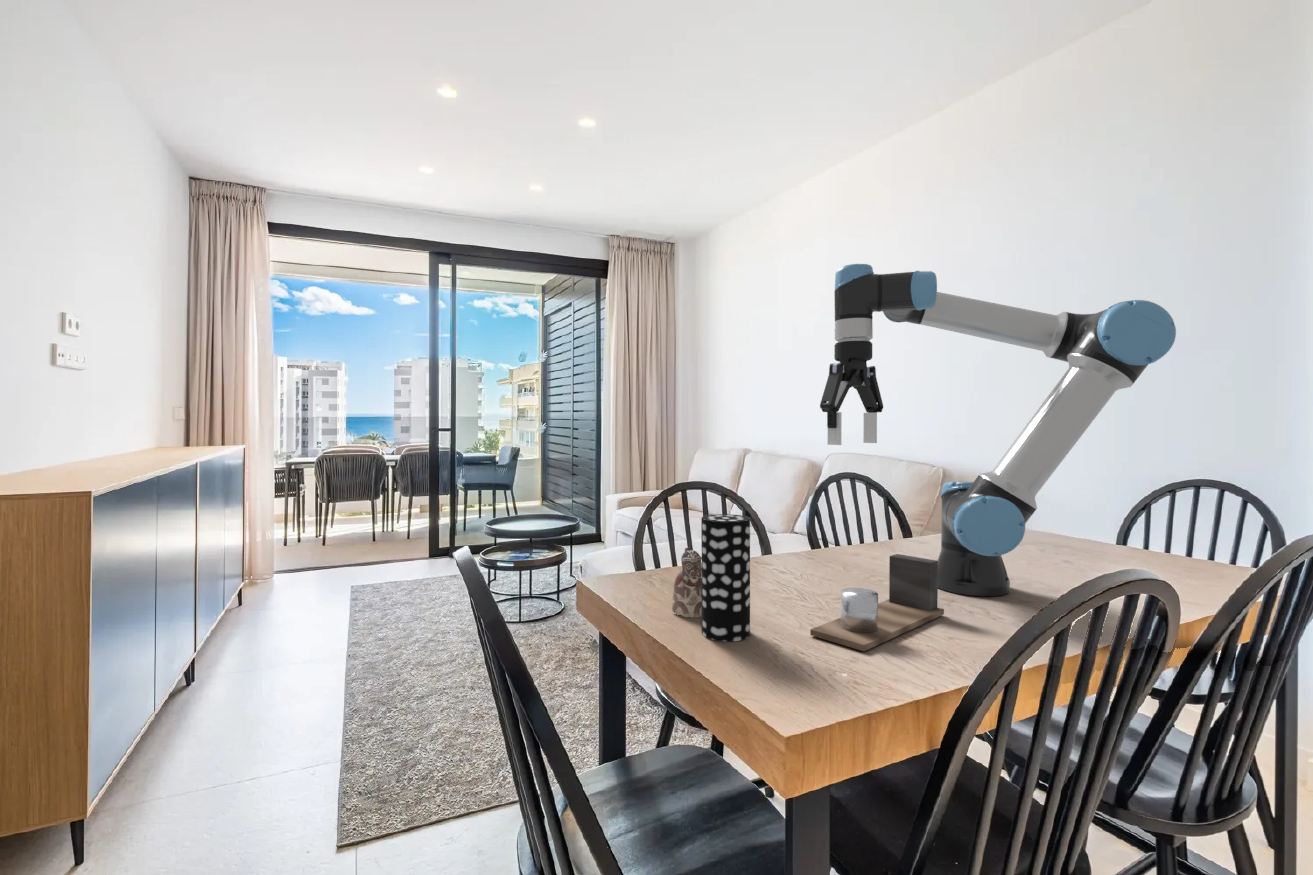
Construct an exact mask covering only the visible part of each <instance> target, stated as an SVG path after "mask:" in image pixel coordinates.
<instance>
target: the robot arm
mask: <svg viewBox="0 0 1313 875" xmlns="http://www.w3.org/2000/svg"><path fill="white" fill-rule="evenodd" d="M834 279H835V280H834V340H835V341H836V343H835V344H834V352H833V353H834V355H833V356H834V360H835V363H834V362H833V363H830V364H829V367H828V368H829V370H828V371H829V372H828V376H827V380H826V382H825V387H824V391H823V393H822V397H821V400H820V404H819V407H820V409H821V411H822V412H823V413H827V414H826V417H827V418H826V419H827V420H826V422H827V424H826V428H827V445H830V446H841V445H842V412H841V411H840V408H841V406H842V404H843V402H844V400H845V398H846V396H847V395H848V393H849V390H850V388H853V389H855V390H856V391H857V394H858V396H859V398H860V400H861V402H862V405H863V407H864V409H865V412H863V438H862V439H863V443H865V444H877V442H878V440H877V439H878V413H882V412H883V409H884V403H883V399H882V396H881V391H880V386H879V382H878V379H877V374H876V373H877V370H876V366H875V365H870V366H869V365H867V361H871V360H872V359H873V342H872V341H871V340H872V339H873V335H874V334H873V333H874V332H873V331H874V330H873V317H874V316H873V312H875V313H876V312H877V313H879V312H882V313H883V315H884V316H885V318H887V319H888V320H889V321H890V322H893V323H898V324H899V323H905V322H906V323H911V324H916V325H921V326H924V327H925V326H926V327H931V328H934V329H941V330H944V331H949V332H954V333H959V334H962V335H963V334H964V335H968V336H973V337H978V338H981V339H987V340H991V341H994V342H995V341H996V342H1000V343H1004V344H1009V345H1012V346H1019V347H1023V348H1026V349H1027V348H1028V349H1031V350H1037V351H1041V352H1043V354H1044V355H1045V357H1047V358H1050V359H1054V360H1059V361H1062V362H1067V363H1068V369H1067V370H1066V372H1065V373H1064V374H1063V375H1062V377H1061V378H1060V379H1059V381H1058V382H1057V383H1056V385H1055V386H1054V388H1053V389H1052V390H1051V392H1049V394H1048V396H1047V397H1046V398H1045V399H1044V401H1043V402H1042V404H1041V405H1040V406H1039V407H1038V409H1037V410H1036V412H1035V413H1034V414H1033V416H1032V417H1031V419H1030V420H1029V421H1027V423H1026V425H1025V426H1024V427H1023V429H1022V430H1021V432H1020V433H1019V435H1018V436H1017V437H1016V439H1015V440H1014V441H1013V443H1012V444H1011V445H1010V447H1009V448H1008V449H1007V450H1006V452H1005V453H1004V455H1003V456H1002V457H1001V459H1000V460H999V462H998V463H997V465H996V466H995V467H994V468H992V469H993V470H991V471H989V472H988V471H987V472H983V473H979V474H978V475H977V477H976V478H975V479H974V481H947V482H945V483H944V484H943V485H942V487H941V493H940V498H941V528H940V529H941V534H940V537H941V538H940V540H941V545H940V552H939V555H938V558H937V559H936V560H937V561H938V589H940V590H942V591H945V592H949V593H954V594H959V595H964V596H965V595H966V596H972V597H973V596H974V597H999V596H1004V595H1007V593H1008V594H1009V593H1010V592H1011V581H1010V578H1009V576H1008V572H1007V569H1006V566H1005V563H1004V561H1003V560H1004V559H1003V557H1002V555H1005V554H1007V553H1010V552H1011V551H1013V550H1015V549H1016V548H1017V547H1018V546H1019V545H1020V543H1021V542H1022V541H1023V539H1024V536H1025V533H1026V524H1027V522H1028V521H1029V520H1030V518H1031V517H1032V516H1033V514H1034V513H1035V512H1036V510H1038V505H1037V501H1036V497H1037V495H1038V493H1039V492H1040V490H1041V489H1042V488H1043V486H1044V485H1045V484H1046V483H1047V481H1048V480H1049V479H1050V477H1051V476H1052V475H1053V473H1054V472H1055V471H1056V470H1057V469H1058V467H1059V466H1060V465H1061V463H1062V462H1063V461H1064V460H1065V458H1066V457H1067V455H1068V454H1069V452H1071V450H1072V449H1073V447H1074V446H1075V445H1076V444H1077V442H1078V441H1079V440H1080V439H1081V437H1082V436H1083V434H1084V433H1085V432H1086V431H1087V429H1088V428H1089V427H1090V425H1091V424H1092V423H1093V421H1095V419H1096V417H1098V415H1099V414H1100V412H1101V411H1102V410H1103V408H1104V407H1105V406H1106V404H1108V402H1109V401H1110V400H1111V399H1112V397H1113V396H1114V394H1115V392H1116V391H1118V390H1119V391H1120V390H1123V389H1129V388H1131V387H1132V386H1133V385H1134V384H1135V383H1136V381H1137V379H1139V377H1140V376H1142V373H1143V372H1144V371H1145V370H1146V369H1147V367H1148V365H1150V364H1153V363H1155V362H1157V361H1158V360H1160V359H1162V358H1163V357H1164V356H1165V355H1166V354H1167V353H1169V351H1170V350H1171V349H1172V347H1173V345H1174V343H1175V342H1176V341H1175V340H1176V337H1177V336H1176V335H1177V329H1176V325H1175V321H1174V319H1173V317H1172V316H1171V314H1170V312H1168V311H1167V310H1166V309H1165V308H1164V307H1163V306H1161V305H1159V304H1158V303H1155V302H1153V301H1150V300H1146V299H1145V300H1144V299H1133V300H1132V299H1131V300H1124V301H1120V302H1117V303H1114V304H1113V305H1110V306H1109V307H1108V308H1106V309H1104V310H1102V311H1099V312H1096V313H1083V314H1082V313H1074V312H1073V313H1072V312H1069V311H1068V312H1067V311H1062V312H1060V313H1058V314H1056V315H1055V314H1051V313H1046V312H1041V311H1037V310H1036V311H1035V310H1031V309H1026V308H1021V307H1015V306H1011V305H1005V304H1001V303H996V302H990V301H986V300H980V299H976V298H970V297H966V296H961V295H960V296H959V295H955V294H950V293H946V292H945V293H944V292H940V291H938V281H937V275H936V273H935V272H933V271H930V270H929V271H928V270H926V271H925V270H924V271H923V270H922V271H920V270H915V271H908V272H907V271H906V272H894V273H882V274H879V273H875V272H874V268H873V267H872V265H870V264H868V263H851V264H846V265H843V266H840V267H839V268H837V270H836V272H835V278H834ZM836 362H837V363H836ZM839 411H840V412H839Z"/></svg>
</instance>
